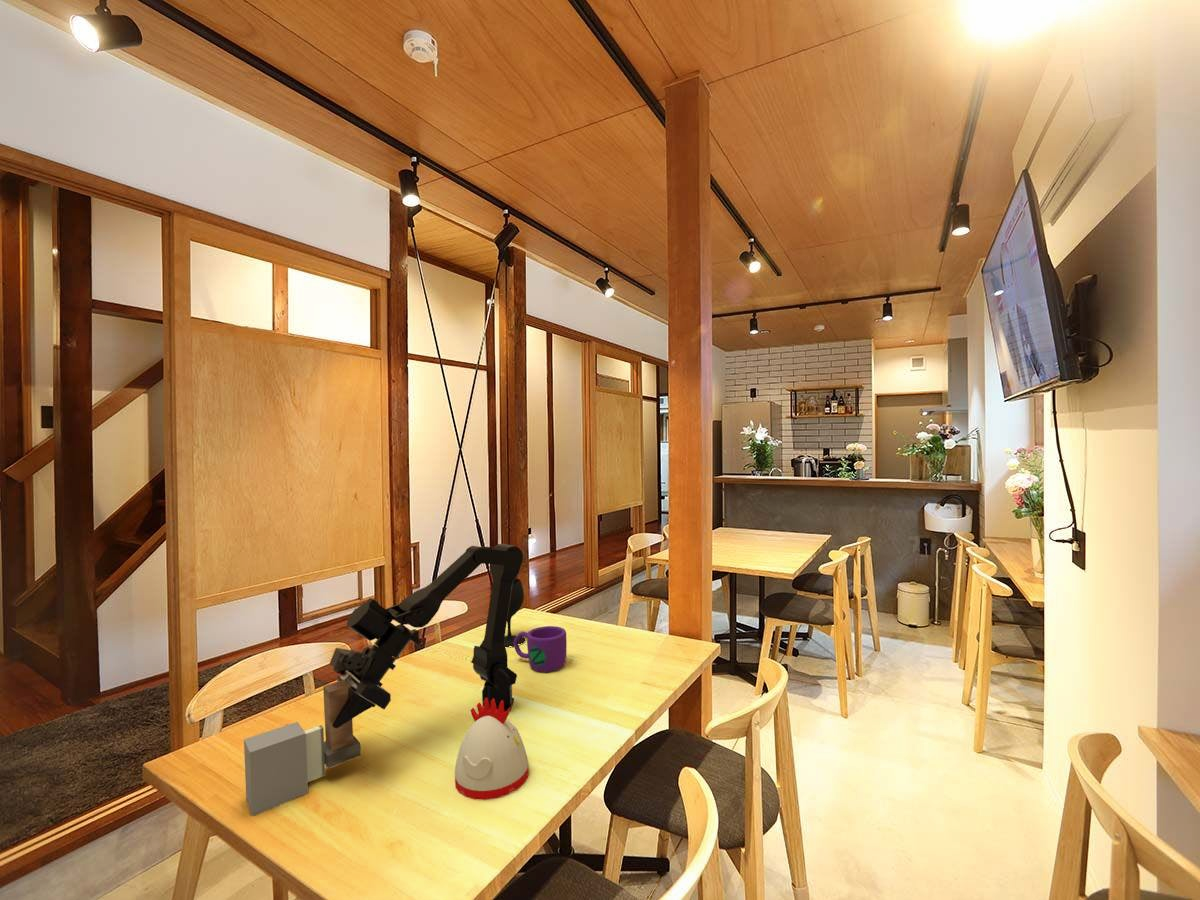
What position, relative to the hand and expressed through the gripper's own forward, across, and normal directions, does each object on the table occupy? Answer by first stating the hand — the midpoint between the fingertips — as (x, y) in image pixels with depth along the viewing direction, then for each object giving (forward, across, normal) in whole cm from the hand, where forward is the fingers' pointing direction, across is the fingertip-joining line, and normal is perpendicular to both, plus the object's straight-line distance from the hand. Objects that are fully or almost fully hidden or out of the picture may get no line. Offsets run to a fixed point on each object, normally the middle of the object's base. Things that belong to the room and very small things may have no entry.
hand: (331, 723), depth 105 cm
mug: (-35, -14, +50) cm, 62 cm away
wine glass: (-38, -37, +53) cm, 75 cm away
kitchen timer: (-8, +24, +23) cm, 34 cm away
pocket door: (+10, 0, +3) cm, 11 cm away
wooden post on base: (+4, 0, +6) cm, 7 cm away
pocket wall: (+14, 0, 0) cm, 14 cm away
